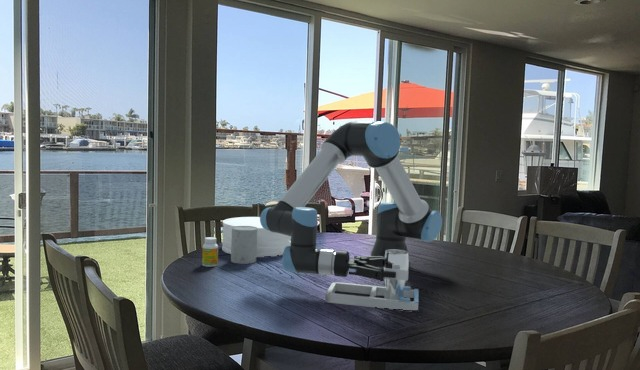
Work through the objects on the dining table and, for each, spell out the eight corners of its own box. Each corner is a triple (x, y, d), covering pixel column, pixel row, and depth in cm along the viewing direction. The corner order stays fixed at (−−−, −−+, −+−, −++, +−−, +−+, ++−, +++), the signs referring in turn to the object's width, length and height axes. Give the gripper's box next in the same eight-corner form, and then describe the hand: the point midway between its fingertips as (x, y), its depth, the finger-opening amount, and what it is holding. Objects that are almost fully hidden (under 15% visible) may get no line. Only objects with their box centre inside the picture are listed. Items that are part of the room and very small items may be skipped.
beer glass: (405, 307, 144) (408, 255, 143) (380, 304, 146) (383, 253, 144) (406, 299, 151) (409, 250, 150) (382, 297, 153) (385, 248, 151)
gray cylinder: (225, 261, 187) (226, 228, 186) (239, 256, 196) (240, 224, 195) (248, 265, 184) (249, 231, 183) (261, 259, 193) (262, 227, 191)
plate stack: (261, 261, 192) (263, 230, 191) (207, 249, 206) (208, 221, 205) (303, 249, 215) (304, 222, 214) (251, 240, 230) (252, 214, 229)
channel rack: (325, 302, 145) (325, 293, 145) (332, 289, 158) (332, 281, 158) (417, 312, 141) (418, 303, 141) (417, 298, 154) (418, 290, 153)
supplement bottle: (201, 267, 178) (202, 239, 177) (202, 263, 183) (203, 236, 182) (217, 267, 179) (218, 239, 178) (217, 263, 184) (218, 236, 183)
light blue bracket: (398, 310, 142) (399, 298, 141) (400, 296, 155) (400, 285, 154) (417, 312, 141) (418, 300, 140) (417, 298, 154) (418, 287, 153)
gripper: (340, 265, 163) (408, 272, 159) (327, 286, 139) (407, 294, 135) (341, 242, 162) (409, 248, 158) (328, 259, 138) (408, 266, 135)
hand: (408, 269), depth 147 cm, fingers open, 12 cm apart
